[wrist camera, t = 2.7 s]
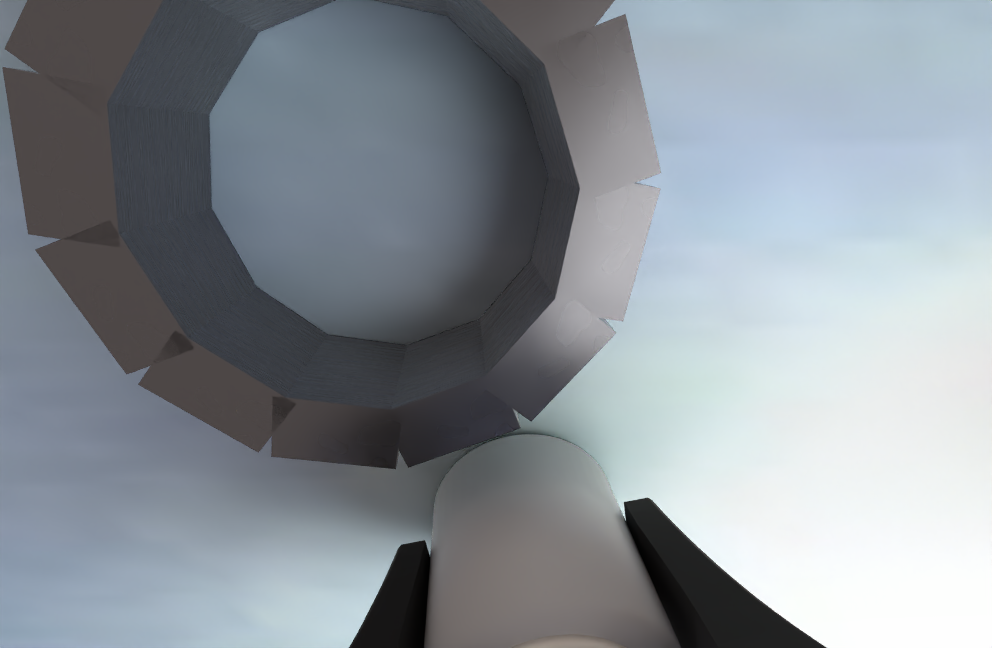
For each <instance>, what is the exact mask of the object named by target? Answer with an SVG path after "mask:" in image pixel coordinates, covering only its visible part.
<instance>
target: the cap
mask: <svg viewBox="0 0 992 648" xmlns="http://www.w3.org/2000/svg"><path fill="white" fill-rule="evenodd" d="M424 648H681V646H680V644H679V642H678V639H677V637H676V635H675V633H674V630H673V628H672V626H671V624H670V621H669V619H668V617H667V614H666V612H665V610H664V608H663V605H662V603H661V601H660V598H659V596H658V594H657V592H656V589H655V587H654V585H653V582H652V580H651V578H650V576H649V573H648V571H647V569H646V567H645V564H644V562H643V560H642V557H641V555H640V553H639V551H638V548H637V546H636V544H635V541H634V539H633V537H632V535H631V532H630V530H629V528H628V525H627V523H626V521H625V519H624V516H623V514H622V512H621V510H620V507H619V505H618V503H617V500H616V498H615V496H614V494H613V491H612V489H611V487H610V484H609V482H608V480H607V478H606V475H605V473H604V471H603V470H602V468H601V467H600V465H599V464H598V463H597V462H596V461H595V460H594V458H593V457H592V456H590V455H589V454H588V453H587V452H586V451H584V450H583V449H581V448H579V447H578V446H576V445H574V444H572V443H570V442H568V441H565V440H562V439H559V438H556V437H552V436H546V435H536V434H523V435H513V436H508V437H503V438H499V439H496V440H493V441H490V442H488V443H485V444H483V445H481V446H479V447H477V448H475V449H474V450H472V451H470V452H469V453H468V454H466V455H465V456H463V457H462V458H461V459H460V460H459V461H458V462H457V463H455V464H454V465H453V466H452V468H451V469H450V470H449V471H448V473H447V474H446V475H445V477H444V479H443V480H442V482H441V484H440V486H439V488H438V491H437V493H436V497H435V501H434V512H433V526H432V540H431V554H430V569H429V583H428V597H427V611H426V625H425V640H424Z"/></svg>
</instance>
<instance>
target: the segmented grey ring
mask: <svg viewBox="0 0 992 648" xmlns="http://www.w3.org/2000/svg"><path fill="white" fill-rule="evenodd" d="M332 1H335V0H27V3H26V5H25V7H24V9H23V11H22V13H21V15H20V17H19V19H18V22H17V24H16V26H15V28H14V30H13V32H12V34H11V36H10V39H9V41H8V43H7V45H6V47H5V49H6V50H7V51H8V52H10V53H11V54H13V55H14V56H16V57H17V58H18V59H20V60H21V61H23V62H24V63H25V64H27V65H28V66H30V67H31V68H32V69H34V70H35V71H37V72H38V73H37V72H30V71H24V70H18V69H12V68H6V67H3V74H4V80H5V87H6V93H7V100H8V106H9V113H10V119H11V125H12V132H13V138H14V145H15V151H16V158H17V164H18V171H19V177H20V184H21V190H22V196H23V203H24V209H25V216H26V222H27V229H28V234H31V235H37V236H44V237H51V238H58V239H61V240H58V241H56V242H53V243H51V244H48V245H46V246H43V247H41V248H38V249H36V252H37V253H38V254H39V256H40V257H41V258H42V260H43V261H44V263H45V264H46V265H47V267H48V268H49V269H50V271H51V272H52V273H53V275H54V276H55V278H56V279H57V280H58V282H59V283H60V284H61V286H62V287H63V288H64V290H65V291H66V292H67V294H68V295H69V297H70V298H71V299H72V301H73V302H74V303H75V305H76V306H77V307H78V309H79V310H80V312H81V313H82V314H83V316H84V317H85V318H86V320H87V321H88V322H89V324H90V325H91V327H92V328H93V329H94V331H95V332H96V333H97V335H98V336H99V337H100V339H101V340H102V341H103V343H104V344H105V346H106V347H107V348H108V350H109V351H110V352H111V354H112V355H113V356H114V358H115V359H116V361H117V362H118V363H119V365H120V366H121V367H122V369H123V370H124V371H125V373H126V374H129V373H132V372H135V371H137V370H140V369H143V368H145V367H148V366H150V368H149V369H148V371H147V372H146V374H145V375H144V377H143V378H142V380H141V381H140V383H139V384H138V385H140V386H142V387H144V388H145V389H147V390H149V391H151V392H152V393H154V394H156V395H158V396H159V397H161V398H163V399H165V400H167V401H168V402H170V403H172V404H174V405H175V406H177V407H179V408H181V409H182V410H184V411H186V412H188V413H190V414H191V415H193V416H195V417H197V418H198V419H200V420H202V421H204V422H205V423H207V424H209V425H211V426H213V427H214V428H216V429H218V430H220V431H221V432H223V433H225V434H227V435H228V436H230V437H232V438H234V439H236V440H237V441H239V442H241V443H243V444H244V445H246V446H248V447H250V448H251V449H253V450H255V451H257V452H259V451H260V450H261V449H262V447H263V446H264V445H265V443H266V442H267V441H268V440H269V438H270V437H271V436H272V456H271V457H281V458H291V459H301V460H311V461H321V462H331V463H341V464H351V465H361V466H371V467H381V468H391V469H396V465H397V460H398V455H399V451H400V453H401V455H402V456H403V458H404V460H405V462H406V464H407V466H408V467H411V466H414V465H417V464H420V463H423V462H426V461H428V460H431V459H434V458H437V457H440V456H443V455H446V454H448V453H451V452H454V451H457V450H460V449H463V448H466V447H468V446H471V445H474V444H477V443H480V442H483V441H486V440H488V439H491V438H494V437H497V436H500V435H503V434H505V433H508V432H511V431H514V430H517V429H520V423H519V418H518V413H520V414H521V415H523V416H524V417H526V418H527V419H528V420H530V421H532V420H533V419H534V418H535V417H536V416H537V415H538V414H539V413H540V412H541V411H542V410H543V409H544V408H545V407H546V406H547V404H548V403H549V402H550V401H551V400H552V399H553V398H554V397H555V396H556V395H557V394H558V393H559V392H560V391H561V390H562V389H563V388H564V387H565V386H566V385H567V384H568V383H569V382H570V381H571V380H572V378H573V377H574V376H575V375H576V374H577V373H578V372H579V371H580V370H581V369H582V368H583V367H584V366H585V365H586V364H587V363H588V362H589V361H590V360H591V359H592V358H593V357H594V356H595V355H596V353H597V352H598V351H599V350H600V349H601V348H602V347H603V346H604V345H605V344H606V343H607V342H608V341H609V340H610V339H611V338H612V337H613V336H614V335H615V334H616V332H615V331H614V330H613V328H612V327H611V326H610V325H609V324H608V322H607V321H606V320H605V319H610V320H617V321H623V319H624V316H625V312H626V309H627V305H628V302H629V298H630V295H631V291H632V288H633V284H634V280H635V277H636V273H637V270H638V266H639V263H640V259H641V256H642V252H643V249H644V245H645V242H646V238H647V234H648V231H649V227H650V224H651V220H652V217H653V213H654V210H655V206H656V203H657V199H658V196H659V192H660V188H656V187H652V186H648V185H643V184H639V183H636V182H638V181H641V180H644V179H646V178H649V177H652V176H654V175H657V174H660V173H661V171H660V166H659V162H658V157H657V153H656V148H655V144H654V139H653V135H652V130H651V126H650V121H649V117H648V112H647V108H646V104H645V99H644V95H643V90H642V86H641V81H640V77H639V72H638V68H637V63H636V59H635V54H634V50H633V45H632V41H631V37H630V32H629V28H628V23H627V19H626V14H624V15H621V16H619V17H616V18H614V19H611V20H609V21H606V22H604V23H601V24H599V25H596V23H597V22H598V21H599V20H600V18H601V17H602V16H603V15H604V13H605V12H606V11H607V10H608V8H609V7H610V6H611V4H612V3H613V2H614V1H615V0H376V1H381V2H385V3H390V4H394V5H399V6H403V7H408V8H413V9H417V10H422V11H426V12H431V13H435V14H440V15H444V16H448V17H449V18H450V19H451V20H452V21H453V22H454V23H455V24H456V25H458V26H459V27H460V28H461V29H462V30H463V31H464V32H465V33H466V34H467V35H468V36H469V37H470V38H471V39H472V40H473V41H474V42H475V43H476V44H477V45H478V46H479V47H480V48H481V49H483V50H484V51H485V52H486V53H487V54H488V55H489V56H490V57H491V58H492V59H493V60H494V61H495V62H496V63H497V64H498V65H499V66H500V67H501V68H502V69H503V70H504V71H505V72H507V73H508V74H509V75H510V76H511V77H512V78H513V79H514V80H515V81H516V82H517V83H518V84H519V85H520V86H521V89H522V92H523V95H524V99H525V102H526V105H527V108H528V112H529V115H530V118H531V121H532V125H533V128H534V131H535V134H536V138H537V141H538V144H539V147H540V151H541V154H542V157H543V160H544V163H545V167H546V170H547V173H548V180H547V185H546V190H545V195H544V200H543V204H542V209H541V214H540V219H539V224H538V229H537V234H536V239H535V244H534V248H533V253H532V258H531V260H530V261H529V263H528V264H527V265H526V266H525V267H524V268H523V270H522V271H521V272H520V273H519V274H518V275H517V276H516V278H515V279H514V280H513V281H512V282H511V283H510V285H509V286H508V287H507V288H506V289H505V290H504V292H503V293H502V294H501V295H500V296H499V297H498V298H497V300H496V301H495V302H494V303H493V304H492V305H491V307H490V308H489V309H488V310H487V311H486V312H485V314H484V315H483V316H482V317H481V318H480V319H478V320H476V321H473V322H470V323H467V324H465V325H462V326H459V327H456V328H454V329H451V330H448V331H446V332H443V333H440V334H437V335H435V336H432V337H429V338H427V339H424V340H421V341H418V342H416V343H413V344H410V345H400V344H392V343H385V342H377V341H370V340H362V339H355V338H347V337H339V336H332V335H327V334H326V333H324V332H323V331H321V330H320V329H318V328H317V327H315V326H314V325H312V324H311V323H309V322H308V321H306V320H305V319H303V318H302V317H300V316H299V315H297V314H296V313H294V312H293V311H291V310H290V309H288V308H287V307H285V306H284V305H283V304H281V303H280V302H278V301H277V300H275V299H274V298H272V297H271V296H269V295H268V294H266V293H265V292H263V291H262V290H260V289H259V288H257V287H256V285H255V283H254V281H253V280H252V278H251V276H250V275H249V273H248V271H247V269H246V268H245V266H244V264H243V262H242V261H241V259H240V257H239V255H238V254H237V252H236V250H235V248H234V247H233V245H232V243H231V242H230V240H229V238H228V236H227V235H226V233H225V231H224V229H223V228H222V226H221V224H220V222H219V221H218V219H217V217H216V215H215V214H214V212H213V210H212V209H211V173H210V133H209V113H210V111H211V110H212V108H213V107H214V105H215V103H216V102H217V100H218V98H219V97H220V95H221V93H222V92H223V90H224V88H225V87H226V85H227V83H228V82H229V80H230V79H231V77H232V75H233V74H234V72H235V70H236V69H237V67H238V65H239V64H240V62H241V60H242V59H243V57H244V55H245V54H246V52H247V51H248V49H249V47H250V46H251V44H252V42H253V41H254V39H255V37H256V36H257V34H258V32H260V31H263V30H265V29H268V28H270V27H272V26H275V25H277V24H280V23H282V22H284V21H287V20H289V19H292V18H294V17H296V16H299V15H301V14H303V13H306V12H308V11H311V10H313V9H315V8H318V7H320V6H323V5H325V4H327V3H330V2H332ZM595 25H596V26H595ZM517 412H518V413H517Z"/></svg>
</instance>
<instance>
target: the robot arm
mask: <svg viewBox="0 0 992 648" xmlns="http://www.w3.org/2000/svg"><path fill="white" fill-rule="evenodd" d="M624 507H625V517H626V523H627V525H628V528H629V530H630V532H631V535H632V537H633V539H634V541H635V544H636V546H637V548H638V551H639V553H640V555H641V557H642V560H643V562H644V564H645V567H646V569H647V571H648V573H649V576H650V578H651V580H652V582H653V585H654V587H655V589H656V592H657V594H658V596H659V598H660V601H661V603H662V605H663V608H664V610H665V612H666V614H667V617H668V619H669V621H670V624H671V626H672V628H673V630H674V633H675V635H676V637H677V639H678V642H679V644H680V646H681V648H826V647H825V646H823V645H822V644H820V643H819V642H817V641H816V640H814V639H813V638H811V637H810V636H808V635H807V634H806V633H804V632H803V631H801V630H800V629H798V628H797V627H795V626H794V625H793V624H791V623H790V622H788V621H787V620H786V619H784V618H783V617H782V616H780V615H779V614H777V613H776V612H775V611H773V610H772V609H771V608H769V607H768V606H767V605H765V604H764V603H763V602H762V601H760V600H759V599H758V598H756V597H755V596H754V595H753V594H751V593H750V592H749V591H748V590H746V589H745V588H744V587H743V586H742V585H740V584H739V583H738V582H737V581H736V580H734V579H733V578H732V577H731V576H730V575H728V574H727V573H726V572H725V571H724V570H723V569H722V568H720V567H719V566H718V565H717V564H716V563H715V562H714V561H713V560H711V559H710V558H709V557H708V556H707V555H706V554H705V553H704V552H703V551H702V550H701V549H699V548H698V547H697V546H696V545H695V544H694V543H693V542H692V541H691V540H690V539H689V538H688V537H687V536H686V535H685V534H684V533H683V532H682V531H681V530H680V529H679V528H678V527H677V526H676V525H675V524H674V523H673V522H672V521H671V520H670V519H669V518H668V517H667V516H666V515H665V514H664V513H663V512H662V511H661V510H660V508H659V507H658V506H657V505H656V504H655V503H654V502H653V501H652V500H651V499H649V498H644V499H638V500H633V501H628V502H624ZM429 569H430V555H429V552H428V549H427V545H426V542H425V540H424V541H419V542H413V543H408V544H403V545H401V546H400V547H399V548H398V550H397V553H396V555H395V557H394V559H393V562H392V564H391V566H390V568H389V571H388V573H387V575H386V577H385V579H384V582H383V584H382V586H381V588H380V590H379V592H378V594H377V596H376V598H375V600H374V602H373V604H372V606H371V608H370V610H369V612H368V614H367V616H366V618H365V620H364V622H363V624H362V625H361V627H360V629H359V631H358V633H357V635H356V636H355V638H354V640H353V642H352V643H351V645H350V647H349V648H424V640H425V625H426V611H427V597H428V583H429Z"/></svg>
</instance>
